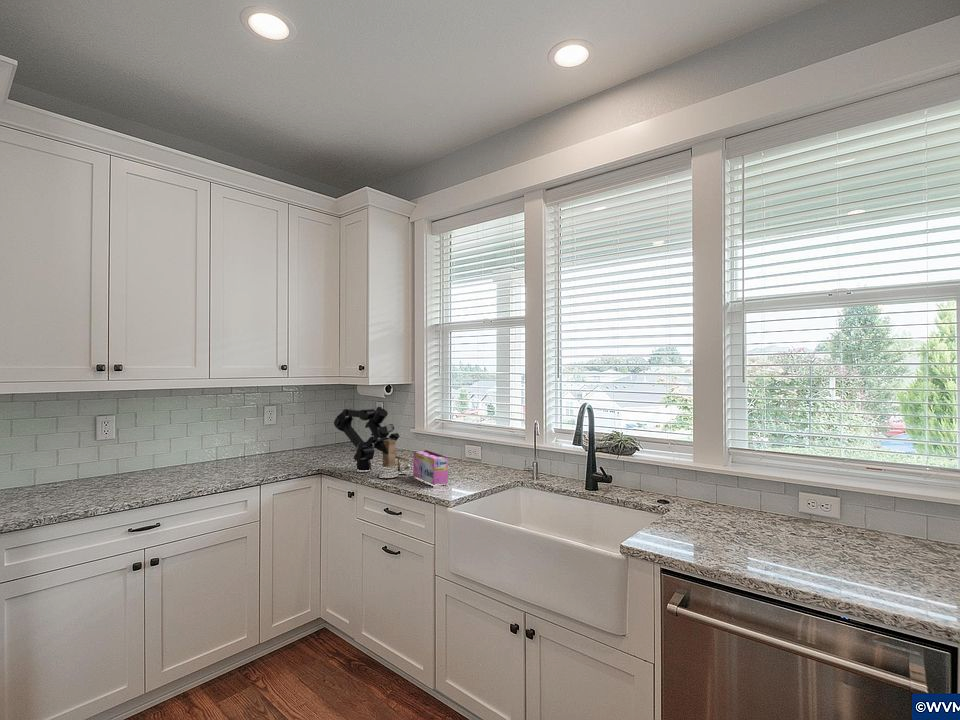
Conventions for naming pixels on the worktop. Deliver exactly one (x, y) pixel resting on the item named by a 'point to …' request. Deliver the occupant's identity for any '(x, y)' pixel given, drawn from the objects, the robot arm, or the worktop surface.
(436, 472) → the gum box
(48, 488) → the worktop surface
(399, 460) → the bronze balance
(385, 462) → the walnut block
